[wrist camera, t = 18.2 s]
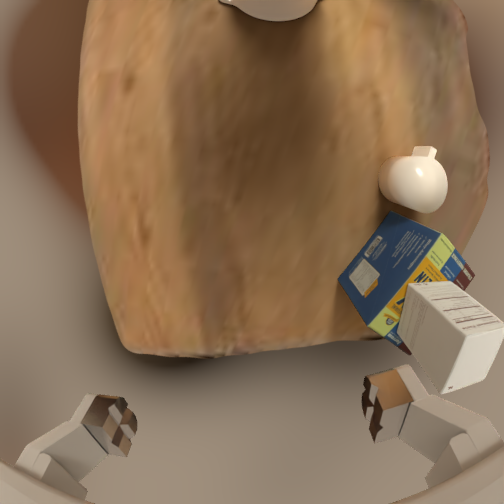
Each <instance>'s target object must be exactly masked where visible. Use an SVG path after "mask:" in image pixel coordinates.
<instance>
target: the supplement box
mask: <svg viewBox="0 0 504 504" xmlns="http://www.w3.org/2000/svg"><path fill="white" fill-rule="evenodd" d="M397 334H398V335H399V336H400V338H401V339H402V340H403V342H404V343H405V344H406V346H407V347H408V349H409V350H410V351H411V353H412V354H413V356H414V357H415V358H416V360H417V361H418V363H419V364H420V366H421V367H422V368H423V370H424V371H425V373H426V374H427V376H428V377H429V378H430V380H431V382H432V383H433V384H434V386H435V387H436V389H437V390H438V392H439V393H440V394H444V393H448V392H451V391H454V390H457V389H460V388H463V387H466V386H469V385H471V384H474V383H477V382H479V381H482V380H484V378H485V377H486V375H487V373H488V371H489V369H490V367H491V365H492V363H493V361H494V358H495V356H496V354H497V352H498V350H499V347H500V345H501V343H502V340H503V338H504V323H503V322H502V321H501V320H500V319H499V318H497V317H496V316H495V315H494V314H492V313H491V312H490V311H489V310H488V309H486V308H485V307H484V306H482V305H481V304H480V303H479V302H477V301H476V300H475V299H473V298H472V297H471V296H470V295H468V294H467V293H466V292H464V291H463V290H462V289H460V288H459V287H458V286H456V285H455V284H454V283H452V282H451V281H441V282H423V283H409V284H408V287H407V292H406V296H405V301H404V305H403V310H402V314H401V318H400V322H399V326H398V329H397Z"/></svg>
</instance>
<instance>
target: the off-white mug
mask: <svg viewBox="0 0 504 504" xmlns="http://www.w3.org/2000/svg"><path fill="white" fill-rule="evenodd" d="M436 151H437V150H436V149H435V148H433V147H432V146H416V147H414V150H413V153H412V156H393V157H390V158H388V159H387V160H386V161H385V162H384V163H383V164H382V166H381V168H380V170H379V174H378V184H379V188H380V190H381V192H382V194H383V195H384V196H385V198H387V199H388V200H389V201H391V202H393V203H396V204H399V205H402V206H405V207H408V208H410V209H413V210H416V211H418V212H421V213H431V212H434V211H435V210H437V209H438V208H439V207H440V206H441V205H442V203H443V202H444V200H445V197H446V194H447V188H448V183H447V177H446V173H445V171H444V169H443V167H442V166H441V165H440V163H439V162H438V161H436V160H435V159H434V158H435V155H436Z"/></svg>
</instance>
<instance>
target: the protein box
mask: <svg viewBox="0 0 504 504" xmlns="http://www.w3.org/2000/svg"><path fill="white" fill-rule="evenodd" d="M474 276H475V274H474V273H473V271H472V270H471V269H470V267H469V266H468V264H467V263H466V262H465V260H464V259H463V258H462V257H461V255H460V254H459V253H458V251H457V250H456V249H455V247H454V246H453V245H452V244H451V242H450V241H449V240H448V239H447V237H446V236H445V235H444V234H443V233H440V232H438V231H436V230H434V229H431V228H429V227H427V226H425V225H423V224H420V223H418V222H416V221H414V220H411V219H409V218H407V217H405V216H403V215H400V214H398V213H396V212H393V211H390V212H389V214H388V215H387V216H386V218H385V219H384V221H383V222H382V223H381V225H380V226H379V227H378V229H377V230H376V231H375V233H374V234H373V235H372V237H371V238H370V239H369V240H368V242H367V243H366V244H365V246H364V247H363V248H362V249H361V251H360V252H359V253H358V254H357V256H356V257H355V258H354V259H353V261H352V262H351V263H350V264H349V266H348V267H347V268H346V269H345V271H344V272H343V273H342V274H341V275H340V277H339V278H338V281H339V283H340V284H341V286H342V287H343V289H344V290H345V292H346V293H347V295H348V296H349V298H350V300H351V301H352V303H353V304H354V306H355V308H356V309H357V311H358V312H359V314H360V316H361V317H362V319H363V320H364V322H365V324H366V325H367V327H368V328H370V329H372V330H373V331H375V332H376V333H378V334H379V335H381V336H382V337H384V338H385V339H387V340H388V341H390V342H391V343H393V344H394V345H395V346H397V347H398V348H399V349H401V350H402V351H403V352H405V353H406V354H408V355H411V354H412V353H411V351H410V350H409V349H408V347H407V346H406V344H405V343H404V342H403V340H402V339H401V338H400V336H399V335H398V334H397V329H398V326H399V322H400V318H401V314H402V310H403V305H404V301H405V296H406V292H407V287H408V284H409V283H423V282H441V281H451V282H452V283H454V284H455V285H456V286H458V287H459V288H460V289H462V290H463V291H464V290H465V289H466V288H467V286H468V285H469V283H470V282H471V281H472V279H473V278H474Z"/></svg>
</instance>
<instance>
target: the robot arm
mask: <svg viewBox="0 0 504 504" xmlns="http://www.w3.org/2000/svg"><path fill="white" fill-rule="evenodd" d="M220 1H221V2H223V3H227V4H231V5H234V6H236V7H238V8H239V9H241V10H242V11H243V12H245V13H247V14H249V15H251V16H253V17H256V18H259V19H263V20H268V21H288V20H293V19H297V18H299V17H302V16H304V15H306V14H307V13H308V12H310V11H311V10H312V9H313V7H314V6H315V4H316V2H317V1H318V0H220ZM363 385H364V387H365V391H364V392H363V393H362V409H363V413H364V416H365V419H367V420H368V421H370V426H369V430H370V433H371V436H372V439H373V441H374V443H378V442H382V441H385V440H388V439H392V438H395V437H399V439H401V440H402V441H404V442H405V443H406V444H408V445H409V446H411V447H412V448H414V449H415V450H416V451H418V452H419V453H421V454H422V455H424V456H425V457H426V458H428V459H429V460H431V461H432V462H434V463H435V464H434V466H433V467H432V469H431V470H430V471H429V473H428V474H427V476H426V477H425V479H426V482H427V485H428V487H429V488H428V489H426V490H424V491H422V492H419V493H417V494H414V495H412V496H409V497H407V498H404V499H401V500H399V501H396V502H393V503H390V504H504V442H503V440H502V439H501V437H500V436H499V434H498V433H497V431H496V430H495V428H494V426H493V425H492V423H491V422H490V420H489V419H488V418H487V417H485V416H482V415H480V414H477V413H475V412H472V411H470V410H468V409H465V408H463V407H461V406H458V405H456V404H454V403H451V402H449V401H447V400H445V399H442V398H440V397H437V396H436V395H430V396H429V394H428V393H427V391H426V390H425V388H424V387H423V385H422V383H421V382H420V380H419V379H418V377H417V375H416V374H415V372H414V371H413V369H412V368H411V367H410V365H408V364H406V365H403V366H399V367H396V368H394V369H389V370H386V371H382V372H379V373H375V374H372V375H367V376H365V378H364V383H363ZM127 406H128V403H127V402H126V400H125V399H124V398H123V397H117V396H109V395H101V394H92V393H88V394H87V395H85V397H84V399H83V400H82V402H81V403H80V405H79V407H78V408H77V410H76V412H75V413H74V415H73V417H72V419H71V420H70V421H66V422H64V423H63V424H61V425H59V426H58V427H56V428H54V429H53V430H51V431H49V432H48V433H46V434H45V435H43V436H41V437H40V438H38V439H36V440H34V441H33V442H31V443H29V444H27V446H26V447H25V449H24V450H23V452H22V454H21V455H20V457H19V459H18V461H17V462H16V464H15V466H12V465H10V464H8V463H7V462H5V461H4V460H2V459H1V458H0V504H94V503H91V502H88V501H86V500H85V497H86V495H87V492H88V491H87V489H86V488H85V487H84V486H82V485H81V484H80V483H79V481H80V480H81V479H83V478H84V477H85V476H86V475H87V474H88V473H89V472H90V471H91V470H93V469H94V468H95V467H96V466H97V465H98V464H99V463H100V462H102V461H103V460H104V459H105V458H106V457H107V456H108V454H110V455H116V456H122V457H127V455H128V453H129V450H130V447H131V445H132V443H131V441H130V439H131V438H132V437H133V436H134V435H135V434H136V431H137V419H136V416H135V414H134V413H133V412H132V411H131V410H130V409H128V408H127Z"/></svg>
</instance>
